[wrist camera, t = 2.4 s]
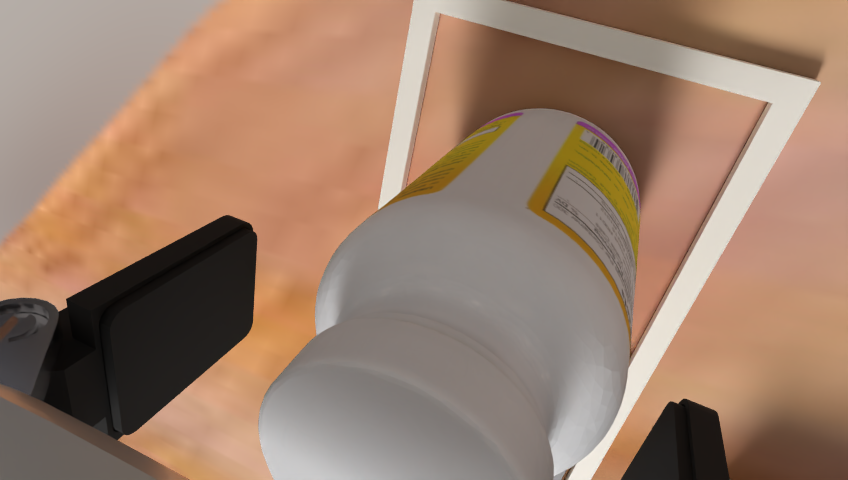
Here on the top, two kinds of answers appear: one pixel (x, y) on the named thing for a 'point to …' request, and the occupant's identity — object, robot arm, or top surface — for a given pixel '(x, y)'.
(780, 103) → the board
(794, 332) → the top surface
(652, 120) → the top surface
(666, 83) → the top surface
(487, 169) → the supplement bottle
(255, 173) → the top surface
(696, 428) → the robot arm
